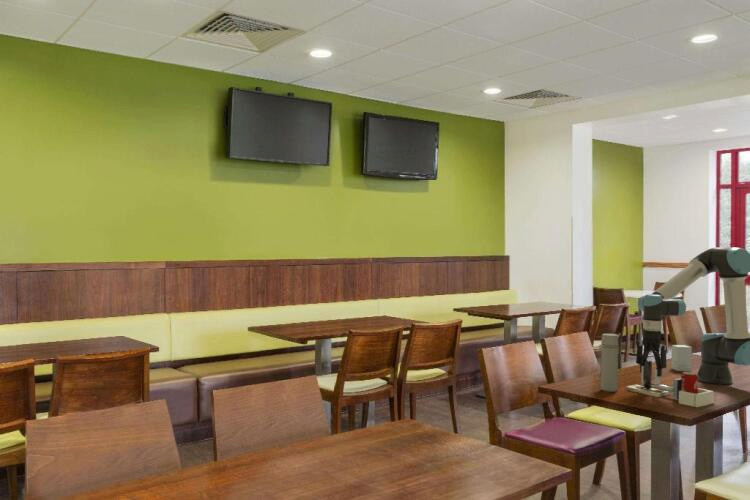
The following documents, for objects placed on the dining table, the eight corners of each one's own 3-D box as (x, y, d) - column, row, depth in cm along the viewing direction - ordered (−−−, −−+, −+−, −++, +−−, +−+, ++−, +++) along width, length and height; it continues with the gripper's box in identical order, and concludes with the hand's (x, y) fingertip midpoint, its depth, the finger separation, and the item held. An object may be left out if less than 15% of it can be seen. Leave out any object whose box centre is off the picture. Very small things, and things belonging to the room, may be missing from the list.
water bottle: (618, 389, 292) (619, 334, 292) (617, 393, 285) (618, 336, 285) (597, 387, 296) (598, 332, 296) (595, 390, 289) (596, 334, 289)
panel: (636, 387, 296) (636, 383, 296) (669, 394, 283) (669, 390, 283) (625, 389, 292) (625, 385, 292) (658, 397, 278) (658, 392, 278)
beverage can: (699, 403, 268) (700, 374, 268) (684, 403, 269) (684, 374, 269) (693, 399, 275) (694, 371, 274) (678, 399, 275) (679, 371, 275)
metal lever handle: (637, 390, 287) (638, 360, 287) (647, 388, 291) (647, 359, 291) (676, 399, 272) (677, 367, 272) (686, 397, 276) (686, 366, 276)
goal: (695, 399, 276) (695, 387, 276) (713, 403, 269) (713, 391, 269) (678, 403, 269) (678, 391, 269) (697, 407, 262) (697, 394, 262)
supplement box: (691, 371, 336) (692, 347, 336) (677, 371, 336) (677, 346, 336) (685, 368, 343) (685, 344, 343) (670, 368, 343) (671, 344, 343)
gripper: (628, 327, 291) (626, 378, 292) (666, 333, 276) (665, 387, 276) (638, 326, 295) (636, 377, 296) (677, 332, 280) (675, 385, 280)
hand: (650, 382), depth 286 cm, fingers closed on metal lever handle, 6 cm apart
